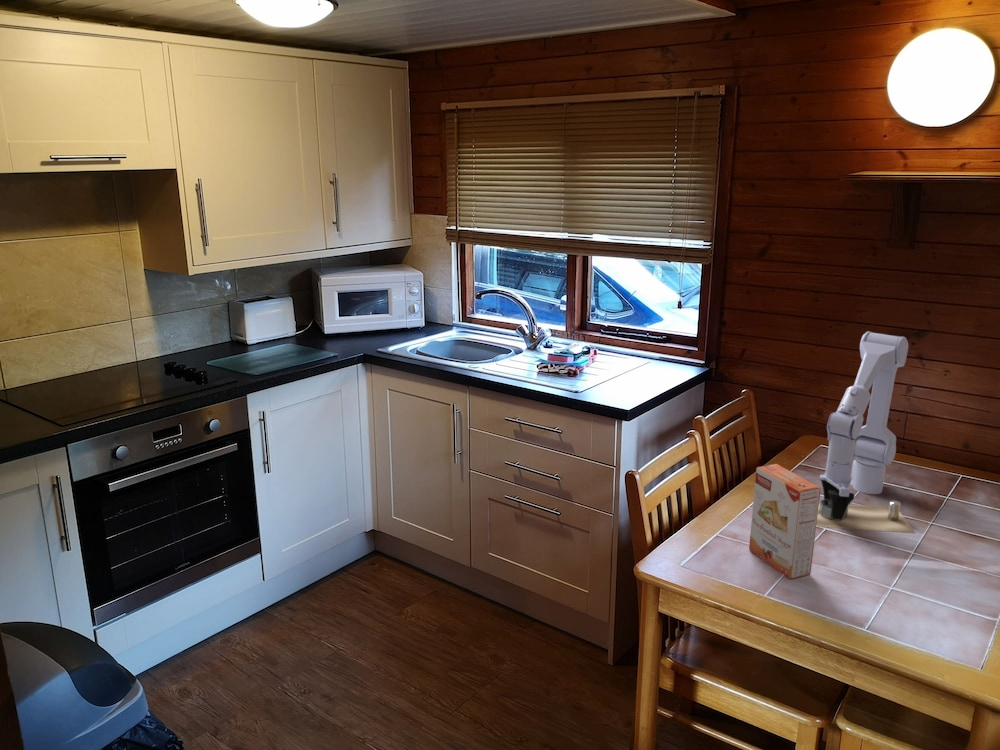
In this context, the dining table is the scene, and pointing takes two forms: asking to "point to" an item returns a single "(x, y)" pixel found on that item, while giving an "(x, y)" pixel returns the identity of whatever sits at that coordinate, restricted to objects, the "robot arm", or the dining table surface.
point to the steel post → (894, 510)
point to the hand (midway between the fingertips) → (833, 511)
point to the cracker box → (784, 520)
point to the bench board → (867, 520)
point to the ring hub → (829, 510)
